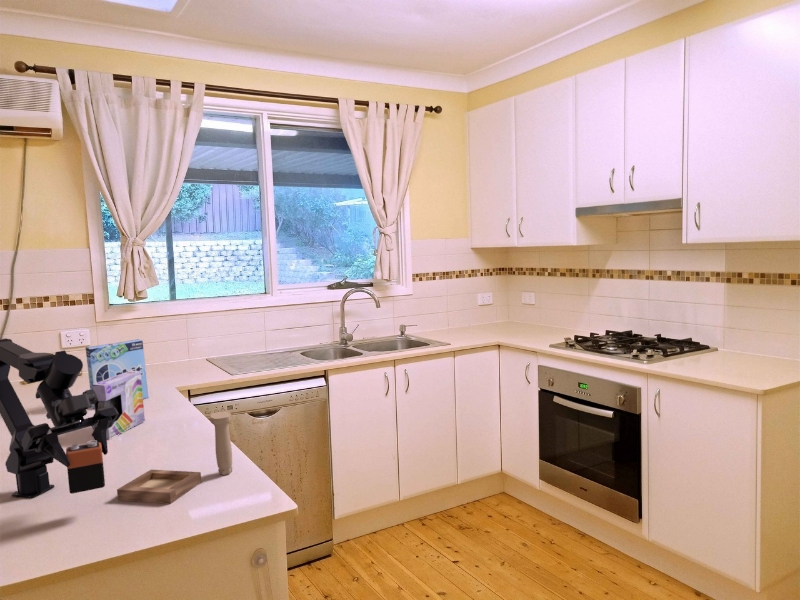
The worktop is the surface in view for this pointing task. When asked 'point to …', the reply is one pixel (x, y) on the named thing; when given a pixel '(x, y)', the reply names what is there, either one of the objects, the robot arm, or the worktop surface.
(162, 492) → the brown wooden flat tray
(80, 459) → the battery
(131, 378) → the cake pan box
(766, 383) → the worktop surface
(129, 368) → the light blue flat box
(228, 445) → the handle
